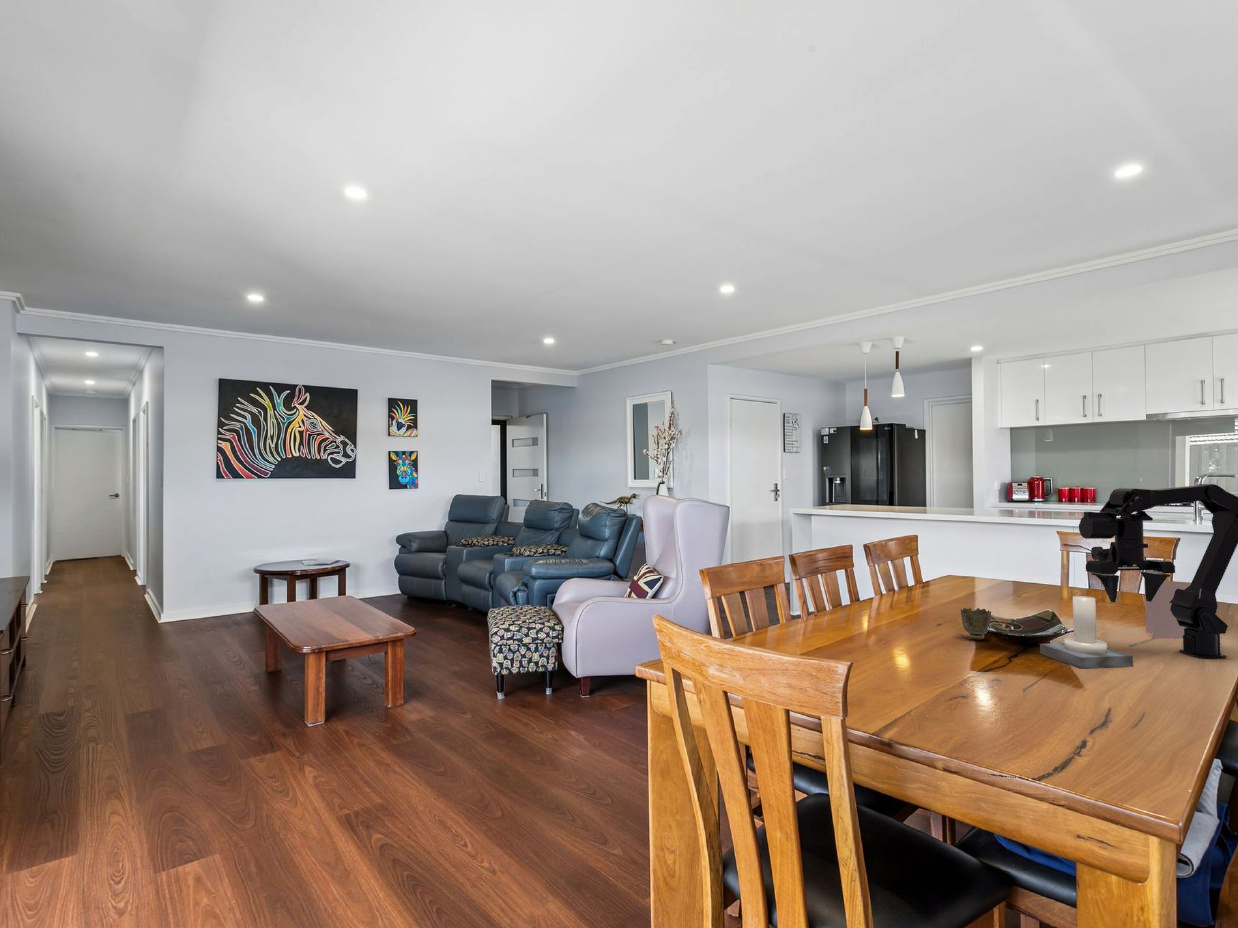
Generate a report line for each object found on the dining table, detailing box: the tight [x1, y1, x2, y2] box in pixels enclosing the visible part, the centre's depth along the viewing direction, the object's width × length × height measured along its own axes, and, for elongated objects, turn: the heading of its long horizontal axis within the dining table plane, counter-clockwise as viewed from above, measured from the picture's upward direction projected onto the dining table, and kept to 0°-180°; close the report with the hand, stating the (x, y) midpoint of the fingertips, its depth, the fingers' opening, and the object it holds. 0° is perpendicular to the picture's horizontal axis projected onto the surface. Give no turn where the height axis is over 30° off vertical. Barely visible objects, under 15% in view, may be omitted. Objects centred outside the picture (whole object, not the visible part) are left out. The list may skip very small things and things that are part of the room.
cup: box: [960, 607, 992, 641], centre depth 182 cm, size 8×7×8 cm
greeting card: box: [1143, 579, 1191, 639], centre depth 182 cm, size 11×7×15 cm, turn 46°
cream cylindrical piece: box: [1063, 595, 1108, 654], centre depth 161 cm, size 8×8×12 cm
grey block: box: [1039, 642, 1134, 669], centre depth 161 cm, size 13×13×2 cm
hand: (1130, 601), depth 165 cm, fingers open, 9 cm apart
